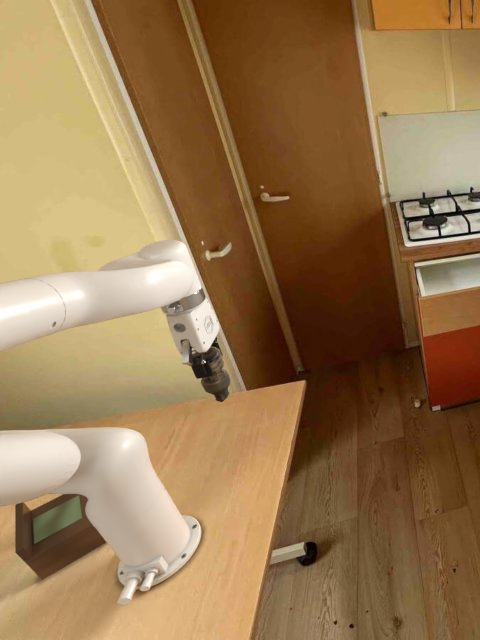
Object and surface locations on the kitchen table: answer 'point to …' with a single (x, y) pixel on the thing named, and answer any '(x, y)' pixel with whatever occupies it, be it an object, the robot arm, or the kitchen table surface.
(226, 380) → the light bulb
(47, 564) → the brown piece
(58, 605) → the kitchen table surface
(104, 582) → the kitchen table surface
